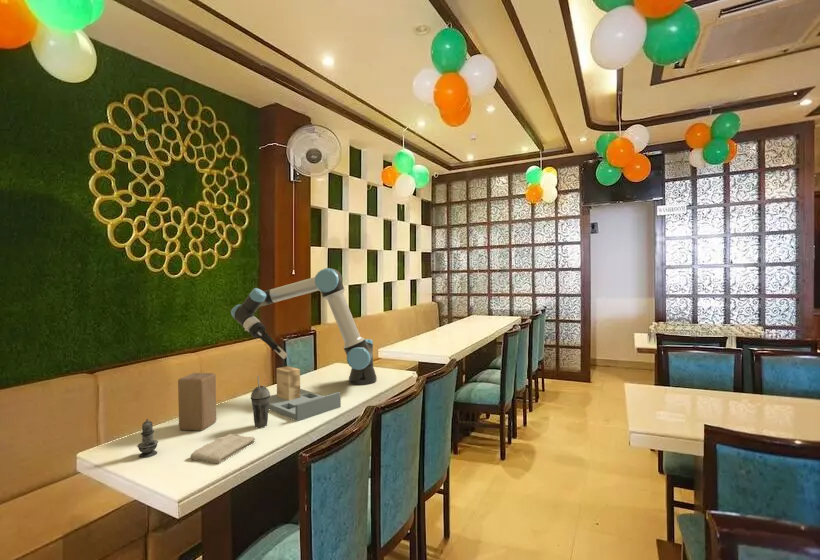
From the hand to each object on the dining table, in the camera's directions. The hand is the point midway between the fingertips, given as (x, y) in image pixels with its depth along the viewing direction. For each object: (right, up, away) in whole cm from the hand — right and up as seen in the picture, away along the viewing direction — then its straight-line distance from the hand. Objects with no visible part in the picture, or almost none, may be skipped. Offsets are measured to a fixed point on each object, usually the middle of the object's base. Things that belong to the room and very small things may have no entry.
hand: (285, 356), depth 196 cm
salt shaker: (-27, -21, -61) cm, 70 cm away
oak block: (+4, -17, -9) cm, 19 cm away
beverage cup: (+2, -20, -37) cm, 42 cm away
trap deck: (+10, -19, -14) cm, 26 cm away
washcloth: (-2, -21, -59) cm, 62 cm away
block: (-23, -21, -37) cm, 48 cm away
